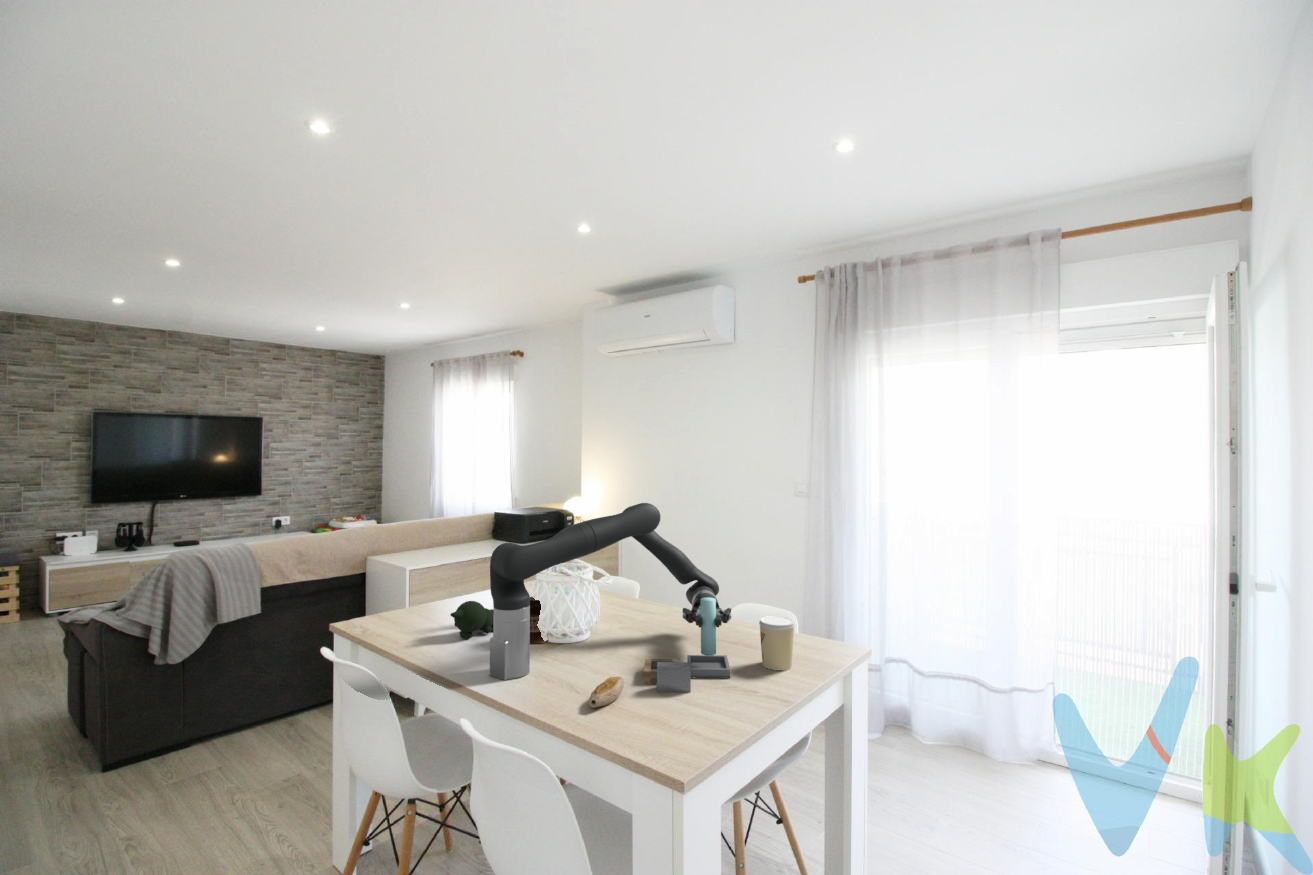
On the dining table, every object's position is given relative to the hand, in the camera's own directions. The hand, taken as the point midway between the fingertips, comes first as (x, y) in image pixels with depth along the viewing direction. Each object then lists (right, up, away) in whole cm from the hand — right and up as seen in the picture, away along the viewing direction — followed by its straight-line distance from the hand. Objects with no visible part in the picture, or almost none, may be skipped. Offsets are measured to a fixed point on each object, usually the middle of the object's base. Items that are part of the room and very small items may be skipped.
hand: (709, 623), depth 155 cm
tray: (0, -13, +2) cm, 13 cm away
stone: (-25, -13, -16) cm, 33 cm away
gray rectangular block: (-9, -13, -10) cm, 19 cm away
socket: (-12, -13, -2) cm, 18 cm away
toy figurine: (-68, -14, +34) cm, 78 cm away
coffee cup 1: (-49, -14, +26) cm, 58 cm away
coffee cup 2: (+19, -13, +6) cm, 24 cm away
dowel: (0, -9, +3) cm, 9 cm away
